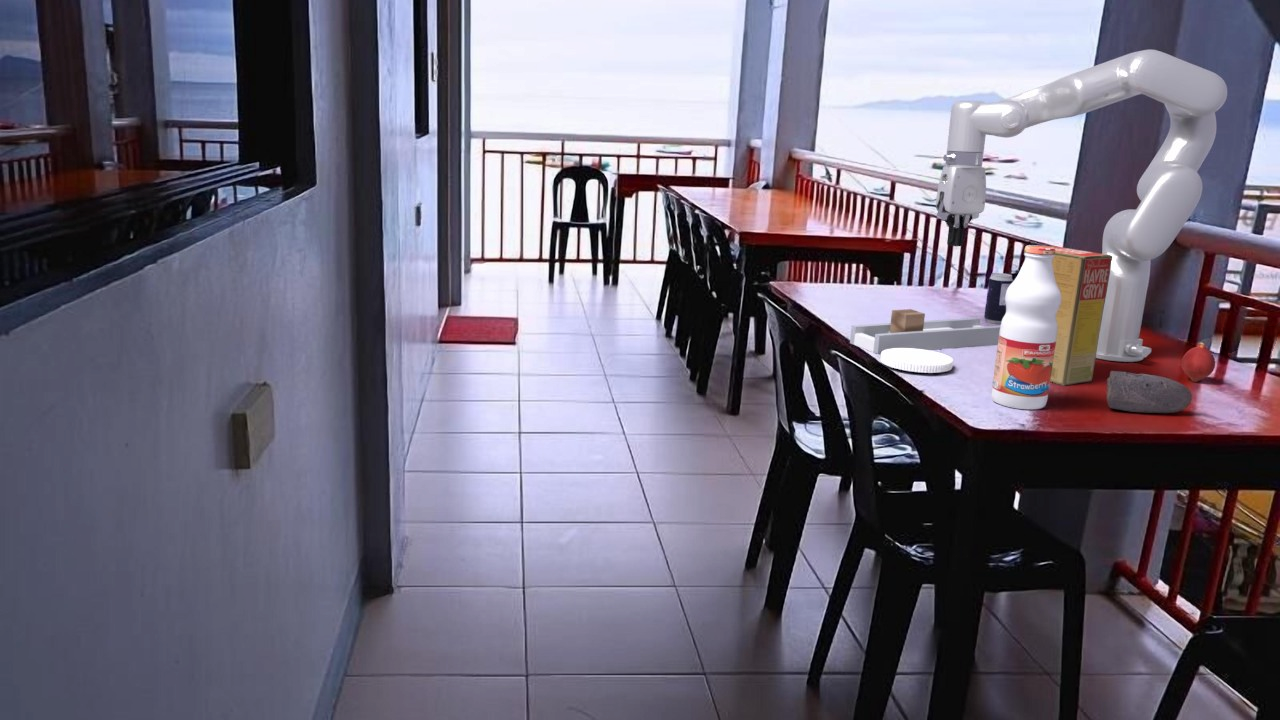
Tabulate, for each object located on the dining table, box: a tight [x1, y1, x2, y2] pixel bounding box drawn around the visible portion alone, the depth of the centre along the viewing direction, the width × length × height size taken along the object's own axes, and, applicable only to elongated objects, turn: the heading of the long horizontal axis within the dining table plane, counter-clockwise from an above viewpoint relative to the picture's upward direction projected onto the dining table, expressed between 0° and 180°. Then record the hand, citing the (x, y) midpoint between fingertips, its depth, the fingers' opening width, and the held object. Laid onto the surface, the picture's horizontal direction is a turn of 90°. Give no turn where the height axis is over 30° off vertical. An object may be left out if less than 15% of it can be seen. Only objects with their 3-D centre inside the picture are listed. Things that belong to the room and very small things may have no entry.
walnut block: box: [890, 308, 926, 333], centre depth 211 cm, size 5×5×5 cm
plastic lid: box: [880, 348, 954, 374], centre depth 194 cm, size 14×14×2 cm
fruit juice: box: [990, 244, 1061, 410], centre depth 168 cm, size 9×9×28 cm
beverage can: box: [983, 272, 1014, 325], centre depth 239 cm, size 6×6×12 cm
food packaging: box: [1048, 245, 1113, 387], centre depth 188 cm, size 13×9×25 cm
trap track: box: [849, 317, 1001, 355], centre depth 214 cm, size 10×35×4 cm, turn 113°
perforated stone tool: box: [1105, 370, 1193, 414], centre depth 168 cm, size 15×5×7 cm, turn 82°
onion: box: [1180, 342, 1216, 382], centre depth 190 cm, size 6×6×8 cm
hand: (954, 245), depth 210 cm, fingers closed
